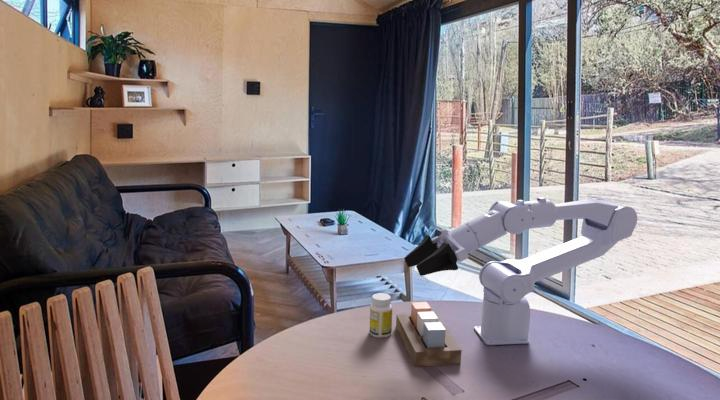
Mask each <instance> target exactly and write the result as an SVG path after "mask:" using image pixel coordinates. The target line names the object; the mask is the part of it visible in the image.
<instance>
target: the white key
mask: <svg viewBox="0 0 720 400" xmlns="http://www.w3.org/2000/svg"><path fill="white" fill-rule="evenodd" d="M435 313H436V312H434V311H432V310H431V312H417V330H418V332H419V334H420V335H421V336H423V330H424V323H425V322H438V318H437V316H436V315H435Z"/></svg>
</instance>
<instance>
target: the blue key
mask: <svg viewBox="0 0 720 400" xmlns="http://www.w3.org/2000/svg"><path fill="white" fill-rule="evenodd" d="M445 333H446V329H445V328H444V326H443V325H442V323H441V322H425V323H424V330H423V341H424V342H425V344H426V346H427V348H438V347H445Z"/></svg>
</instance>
